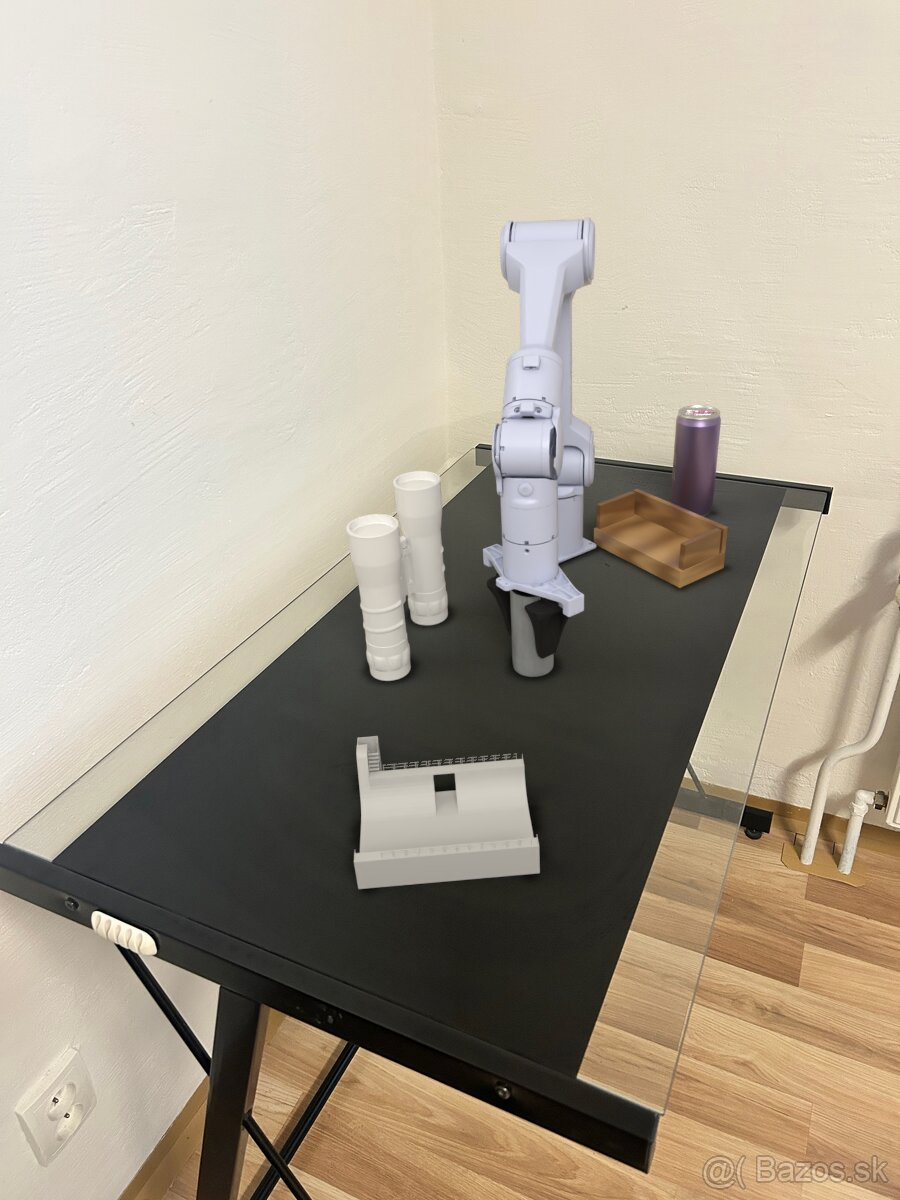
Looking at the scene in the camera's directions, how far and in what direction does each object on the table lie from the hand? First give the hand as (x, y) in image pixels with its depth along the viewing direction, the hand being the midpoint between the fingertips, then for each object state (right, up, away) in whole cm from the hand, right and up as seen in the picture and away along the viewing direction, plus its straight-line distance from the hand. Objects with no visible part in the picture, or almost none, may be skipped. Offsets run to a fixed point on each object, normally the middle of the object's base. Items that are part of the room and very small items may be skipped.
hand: (532, 643), depth 96 cm
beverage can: (+26, +18, +32) cm, 45 cm away
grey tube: (0, -3, +2) cm, 3 cm away
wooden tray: (+19, +11, +21) cm, 30 cm away
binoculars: (-14, 0, +7) cm, 16 cm away
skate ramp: (-9, -15, -18) cm, 25 cm away
